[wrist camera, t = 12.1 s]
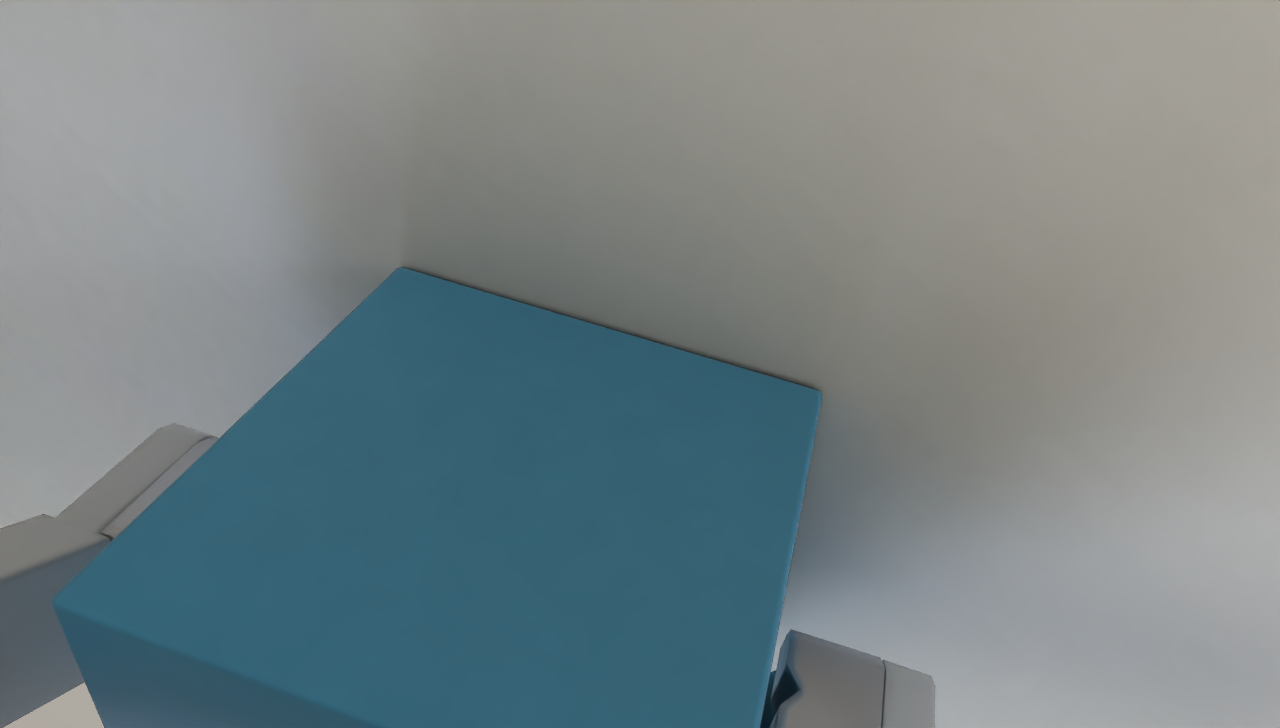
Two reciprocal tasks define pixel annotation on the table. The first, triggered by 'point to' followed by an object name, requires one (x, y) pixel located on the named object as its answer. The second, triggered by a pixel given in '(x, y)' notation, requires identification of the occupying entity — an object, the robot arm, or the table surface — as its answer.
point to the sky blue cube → (462, 536)
